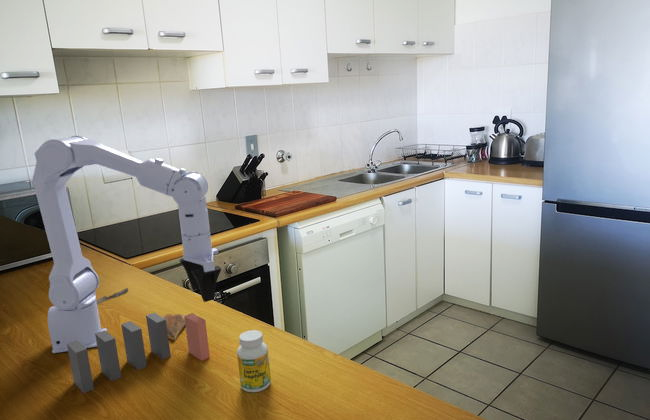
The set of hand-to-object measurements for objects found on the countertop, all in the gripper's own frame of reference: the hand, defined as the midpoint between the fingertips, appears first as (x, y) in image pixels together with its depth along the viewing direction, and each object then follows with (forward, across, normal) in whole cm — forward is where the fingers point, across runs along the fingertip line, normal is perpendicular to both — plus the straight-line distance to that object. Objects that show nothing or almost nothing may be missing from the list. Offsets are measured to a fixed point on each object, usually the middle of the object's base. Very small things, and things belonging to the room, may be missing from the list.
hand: (203, 294), depth 104 cm
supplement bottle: (+10, -23, -1) cm, 25 cm away
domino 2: (+10, -4, +20) cm, 23 cm away
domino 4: (+10, -1, +10) cm, 14 cm away
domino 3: (+10, -2, +15) cm, 18 cm away
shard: (+10, +9, +4) cm, 14 cm away
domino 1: (+10, -5, +25) cm, 27 cm away
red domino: (+10, -6, +4) cm, 12 cm away
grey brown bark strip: (+10, +37, +15) cm, 41 cm away
